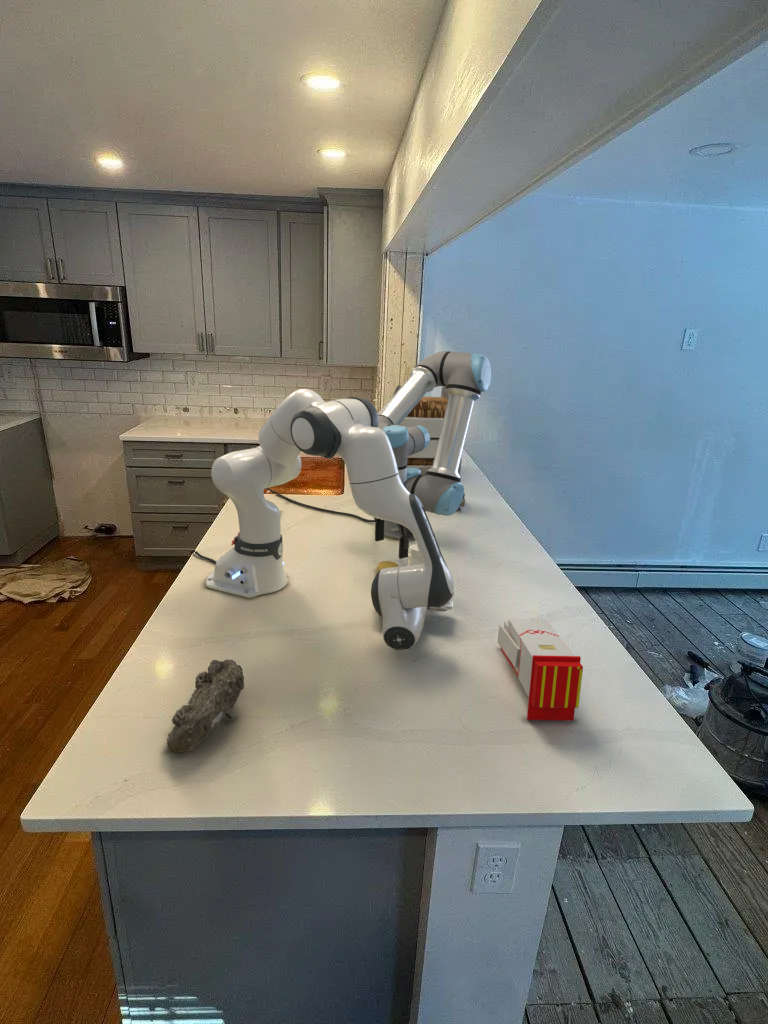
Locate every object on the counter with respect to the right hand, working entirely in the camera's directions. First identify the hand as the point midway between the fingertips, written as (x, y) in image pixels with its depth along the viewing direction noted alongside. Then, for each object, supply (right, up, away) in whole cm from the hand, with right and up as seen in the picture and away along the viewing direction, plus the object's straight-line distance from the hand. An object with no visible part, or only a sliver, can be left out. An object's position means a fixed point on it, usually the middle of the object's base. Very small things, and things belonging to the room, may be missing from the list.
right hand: (390, 548), depth 169 cm
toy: (+30, -25, -45) cm, 60 cm away
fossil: (-35, -28, -61) cm, 76 cm away
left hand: (+7, -7, -17) cm, 20 cm away
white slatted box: (+15, +30, +106) cm, 111 cm away
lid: (-1, -5, +1) cm, 6 cm away
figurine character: (+27, +13, +61) cm, 68 cm away
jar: (+6, -14, -16) cm, 22 cm away
